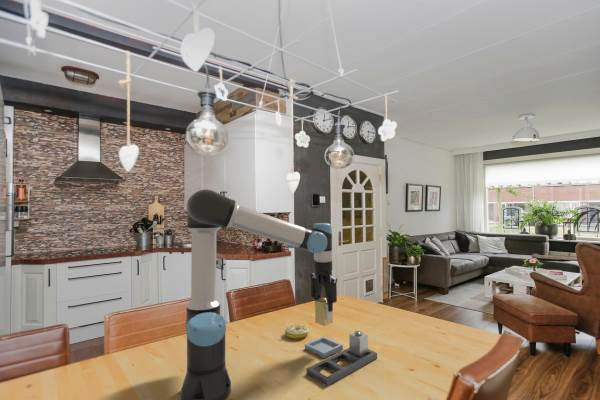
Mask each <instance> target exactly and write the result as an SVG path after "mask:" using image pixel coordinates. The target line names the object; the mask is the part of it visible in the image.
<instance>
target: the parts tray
mask: <svg viewBox="0 0 600 400" xmlns="http://www.w3.org/2000/svg"><path fill="white" fill-rule="evenodd" d="M304 349H305V350H306V351H308V352H310V353H312V354H314V355H316V356H318V357H320V358H322V359H323V360H325V359H327V358H329V357H331V356H333V355H335V354H338V353H340V352H342V351H344V344H342V343H340V342H337V341H335V340H332V339H330V338H328V337H325V336H322V337H318V338H317V339H314V340H312V341H309V342H306V343H305V344H304Z"/></svg>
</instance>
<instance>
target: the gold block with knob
mask: <svg viewBox="0 0 600 400" xmlns="http://www.w3.org/2000/svg"><path fill="white" fill-rule="evenodd" d="M326 303H327V298H326V297H321V298H320V299H319V300H316V301H315V300H314V307H315V308H314V315H315V317H314V319H315V320H314V321H315V323H316V324H318V325H321V326H323V327H325V326H329V325H331V324H333V322H334V321H333V317H334V316H332V319H329V320H326Z"/></svg>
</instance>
